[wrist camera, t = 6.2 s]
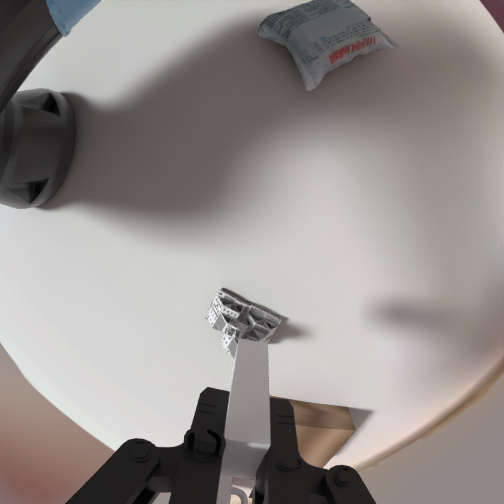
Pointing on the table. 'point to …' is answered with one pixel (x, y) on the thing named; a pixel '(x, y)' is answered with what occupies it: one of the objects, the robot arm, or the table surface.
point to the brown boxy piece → (320, 430)
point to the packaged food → (324, 36)
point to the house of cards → (240, 321)
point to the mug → (229, 491)
